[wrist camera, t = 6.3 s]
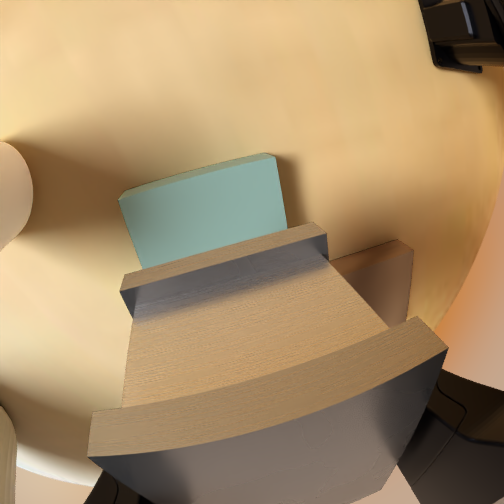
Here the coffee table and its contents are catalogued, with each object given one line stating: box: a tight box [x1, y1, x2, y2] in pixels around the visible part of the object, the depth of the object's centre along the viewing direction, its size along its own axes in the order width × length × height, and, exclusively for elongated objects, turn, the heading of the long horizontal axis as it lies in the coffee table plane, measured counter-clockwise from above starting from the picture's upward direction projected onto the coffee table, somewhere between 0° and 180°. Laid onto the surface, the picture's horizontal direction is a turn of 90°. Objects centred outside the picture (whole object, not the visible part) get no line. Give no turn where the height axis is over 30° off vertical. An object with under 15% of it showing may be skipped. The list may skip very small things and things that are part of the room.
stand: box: [118, 153, 288, 269], centre depth 17 cm, size 8×8×2 cm
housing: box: [87, 222, 449, 504], centre depth 7 cm, size 7×5×5 cm
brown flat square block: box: [329, 239, 414, 328], centre depth 21 cm, size 8×8×2 cm
